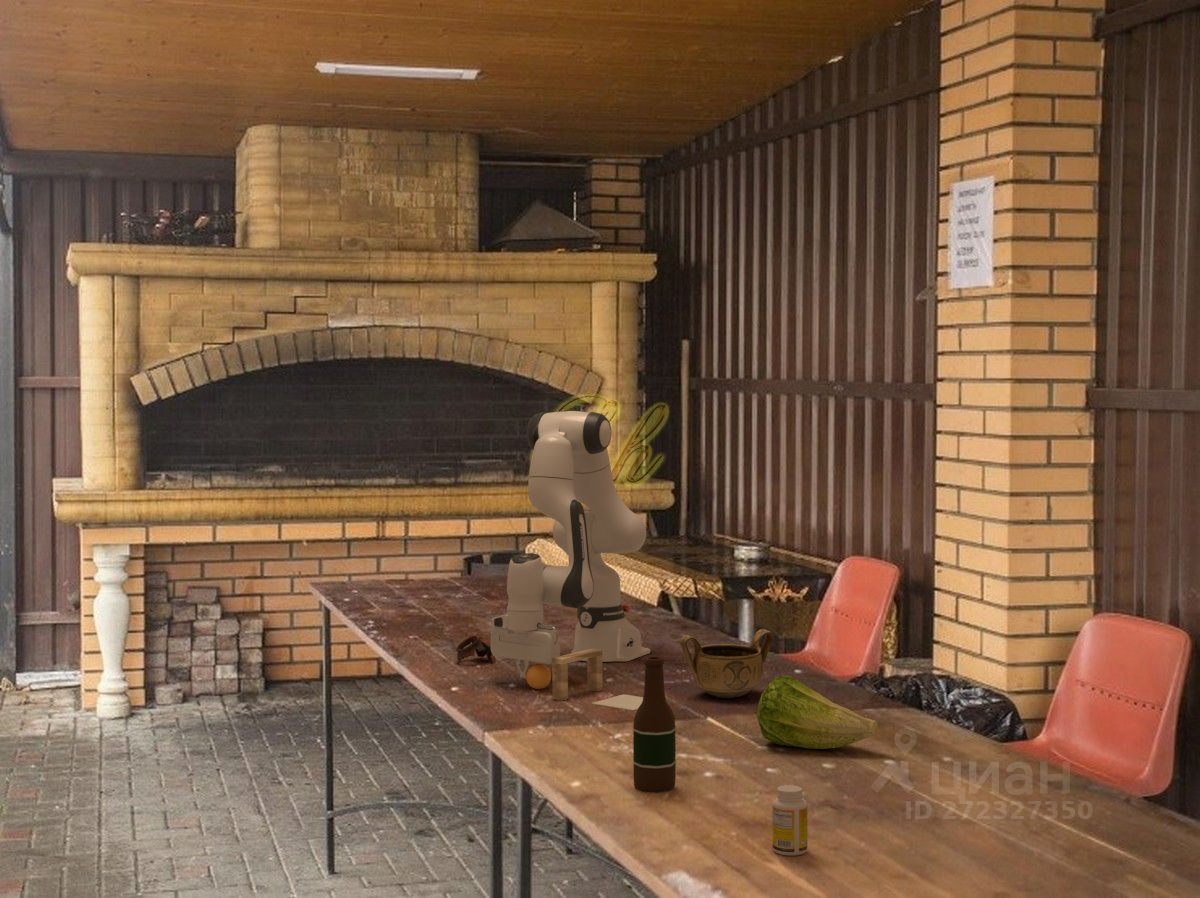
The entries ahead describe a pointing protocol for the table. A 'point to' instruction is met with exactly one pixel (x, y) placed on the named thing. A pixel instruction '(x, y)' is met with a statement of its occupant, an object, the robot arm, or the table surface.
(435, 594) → the table surface
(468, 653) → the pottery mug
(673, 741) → the beer bottle
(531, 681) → the ball
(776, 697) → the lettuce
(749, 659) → the ceramic bowl
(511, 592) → the robot arm
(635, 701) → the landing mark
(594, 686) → the bridge
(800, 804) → the supplement bottle
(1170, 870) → the table surface
